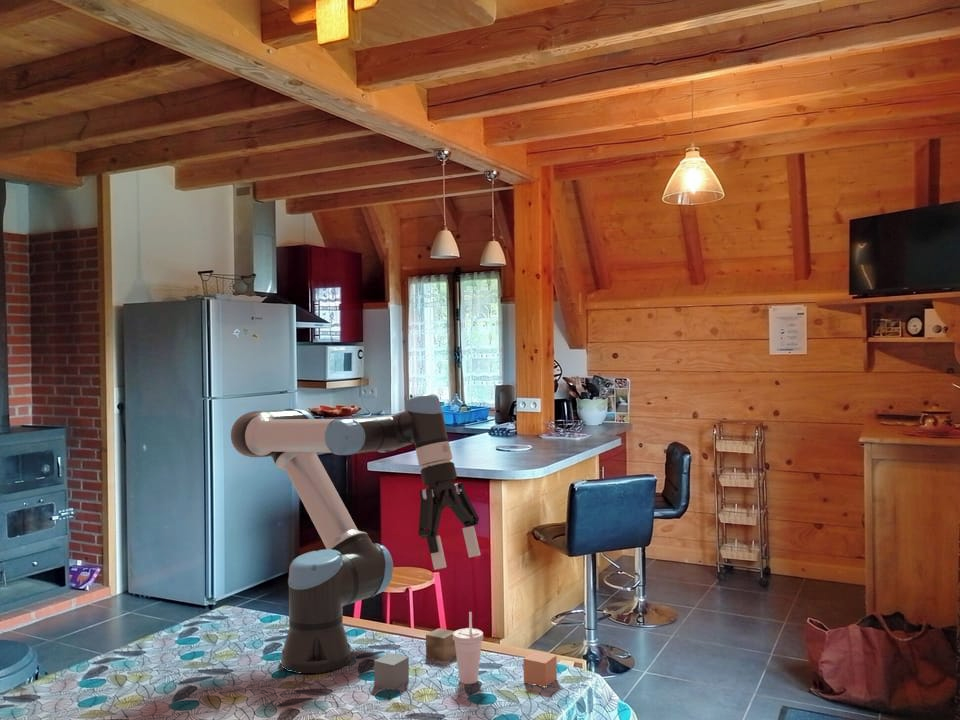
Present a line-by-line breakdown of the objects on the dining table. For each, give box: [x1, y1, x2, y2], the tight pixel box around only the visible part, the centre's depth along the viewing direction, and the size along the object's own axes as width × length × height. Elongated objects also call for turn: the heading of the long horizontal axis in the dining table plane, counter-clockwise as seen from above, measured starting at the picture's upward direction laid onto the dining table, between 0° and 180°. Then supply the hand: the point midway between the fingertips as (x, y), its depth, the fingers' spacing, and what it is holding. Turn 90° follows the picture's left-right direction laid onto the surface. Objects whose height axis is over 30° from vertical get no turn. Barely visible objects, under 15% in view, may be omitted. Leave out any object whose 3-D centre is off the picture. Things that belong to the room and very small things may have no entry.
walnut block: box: [425, 627, 456, 661], centre depth 169 cm, size 5×5×5 cm
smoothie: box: [453, 611, 484, 685], centre depth 155 cm, size 6×6×14 cm
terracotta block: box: [523, 650, 558, 687], centre depth 154 cm, size 5×5×5 cm
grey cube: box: [373, 652, 410, 691], centre depth 154 cm, size 5×5×5 cm
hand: (458, 562), depth 160 cm, fingers open, 13 cm apart
